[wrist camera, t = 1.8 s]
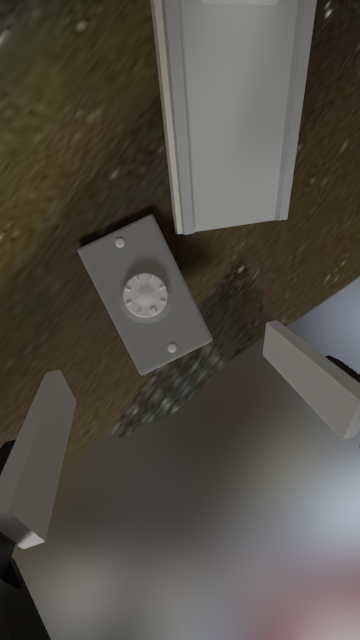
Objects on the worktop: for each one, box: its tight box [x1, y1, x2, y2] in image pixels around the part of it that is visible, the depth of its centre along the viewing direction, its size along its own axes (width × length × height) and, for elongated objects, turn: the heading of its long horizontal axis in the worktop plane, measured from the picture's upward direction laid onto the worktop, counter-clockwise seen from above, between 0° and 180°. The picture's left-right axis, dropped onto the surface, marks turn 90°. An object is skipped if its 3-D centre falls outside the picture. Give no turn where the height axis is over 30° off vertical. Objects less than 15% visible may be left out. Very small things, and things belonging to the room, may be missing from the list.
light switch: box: [78, 214, 212, 375], centre depth 24 cm, size 8×6×14 cm
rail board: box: [150, 0, 317, 235], centre depth 15 cm, size 13×21×10 cm, turn 6°
